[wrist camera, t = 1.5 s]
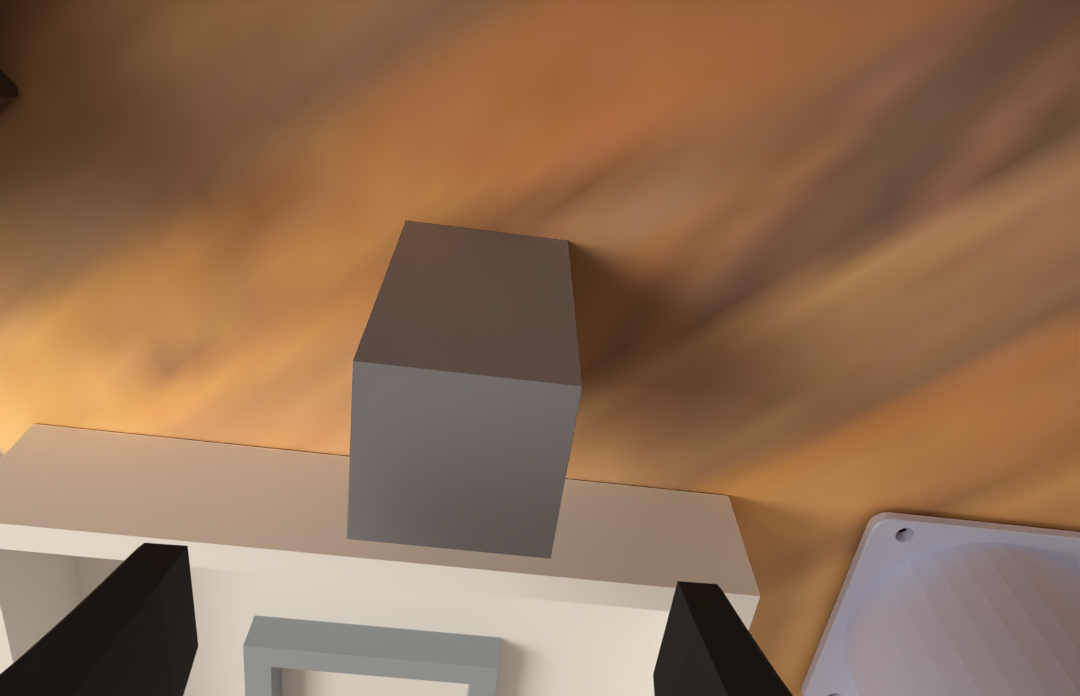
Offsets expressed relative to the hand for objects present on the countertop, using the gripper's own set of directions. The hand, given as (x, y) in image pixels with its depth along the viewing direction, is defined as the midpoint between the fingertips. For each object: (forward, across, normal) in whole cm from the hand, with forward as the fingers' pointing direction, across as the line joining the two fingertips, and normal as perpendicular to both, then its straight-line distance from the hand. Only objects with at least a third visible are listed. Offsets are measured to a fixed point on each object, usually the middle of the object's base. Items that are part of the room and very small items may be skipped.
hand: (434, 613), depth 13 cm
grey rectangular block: (+11, 0, 0) cm, 11 cm away
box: (+10, +2, +15) cm, 18 cm away
